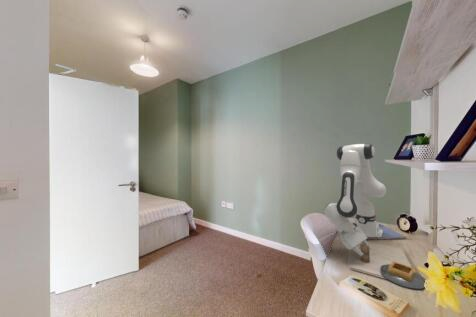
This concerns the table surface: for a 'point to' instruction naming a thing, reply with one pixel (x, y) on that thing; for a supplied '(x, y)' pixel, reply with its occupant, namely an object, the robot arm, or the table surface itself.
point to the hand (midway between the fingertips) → (365, 252)
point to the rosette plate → (403, 276)
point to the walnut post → (365, 253)
